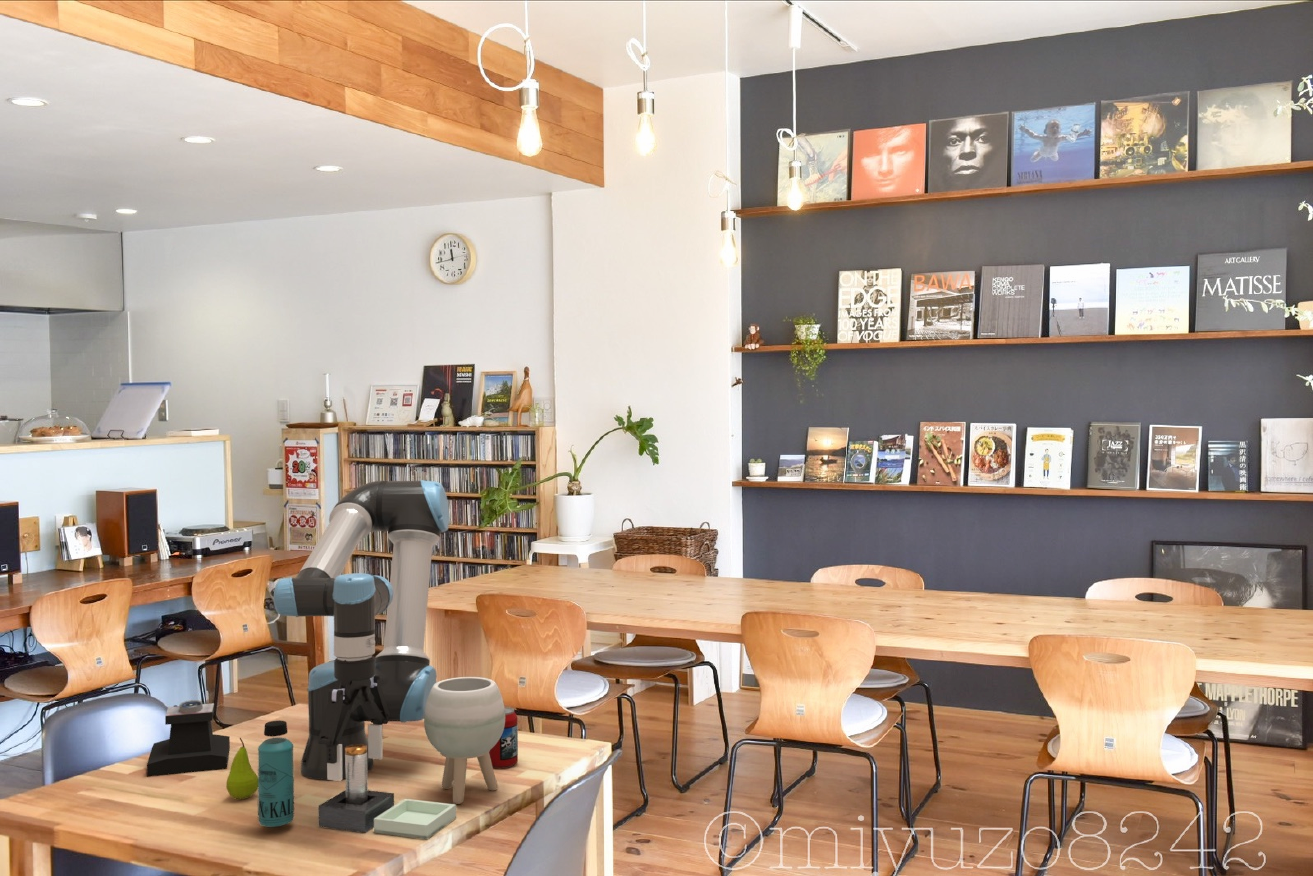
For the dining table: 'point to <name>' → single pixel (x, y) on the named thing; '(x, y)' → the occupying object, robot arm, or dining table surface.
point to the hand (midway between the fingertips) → (355, 769)
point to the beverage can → (506, 743)
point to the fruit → (241, 776)
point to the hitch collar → (354, 812)
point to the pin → (356, 774)
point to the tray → (415, 819)
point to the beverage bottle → (275, 777)
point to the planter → (464, 727)
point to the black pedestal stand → (189, 742)
